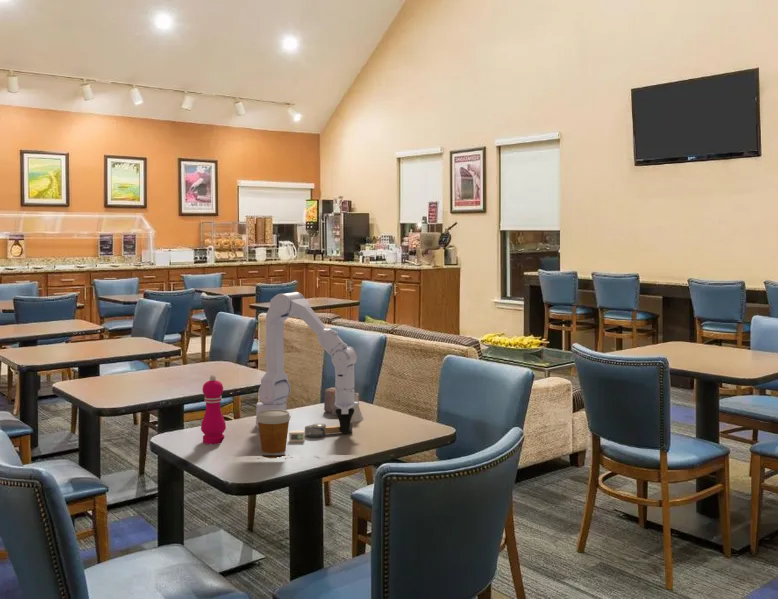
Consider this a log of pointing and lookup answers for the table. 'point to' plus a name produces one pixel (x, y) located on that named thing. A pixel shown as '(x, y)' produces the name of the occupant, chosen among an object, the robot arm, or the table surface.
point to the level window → (297, 436)
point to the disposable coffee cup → (273, 431)
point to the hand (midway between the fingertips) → (344, 432)
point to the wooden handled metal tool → (322, 430)
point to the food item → (330, 401)
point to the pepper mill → (213, 413)
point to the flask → (356, 410)
